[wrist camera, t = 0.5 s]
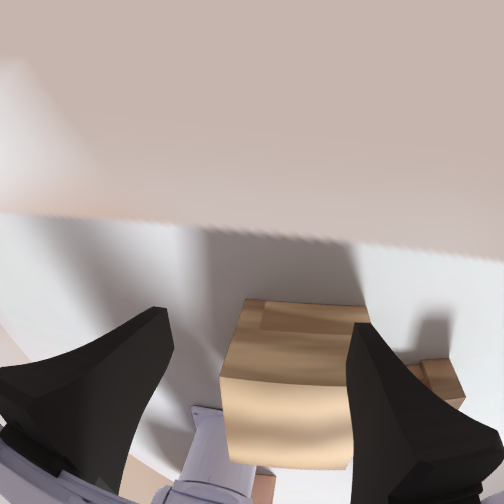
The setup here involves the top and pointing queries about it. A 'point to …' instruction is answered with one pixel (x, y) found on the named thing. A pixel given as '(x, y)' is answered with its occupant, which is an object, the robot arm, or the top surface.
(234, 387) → the bread box
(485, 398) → the top surface
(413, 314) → the top surface
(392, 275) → the top surface
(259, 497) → the utensil crock
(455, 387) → the wooden mallet
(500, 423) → the top surface
